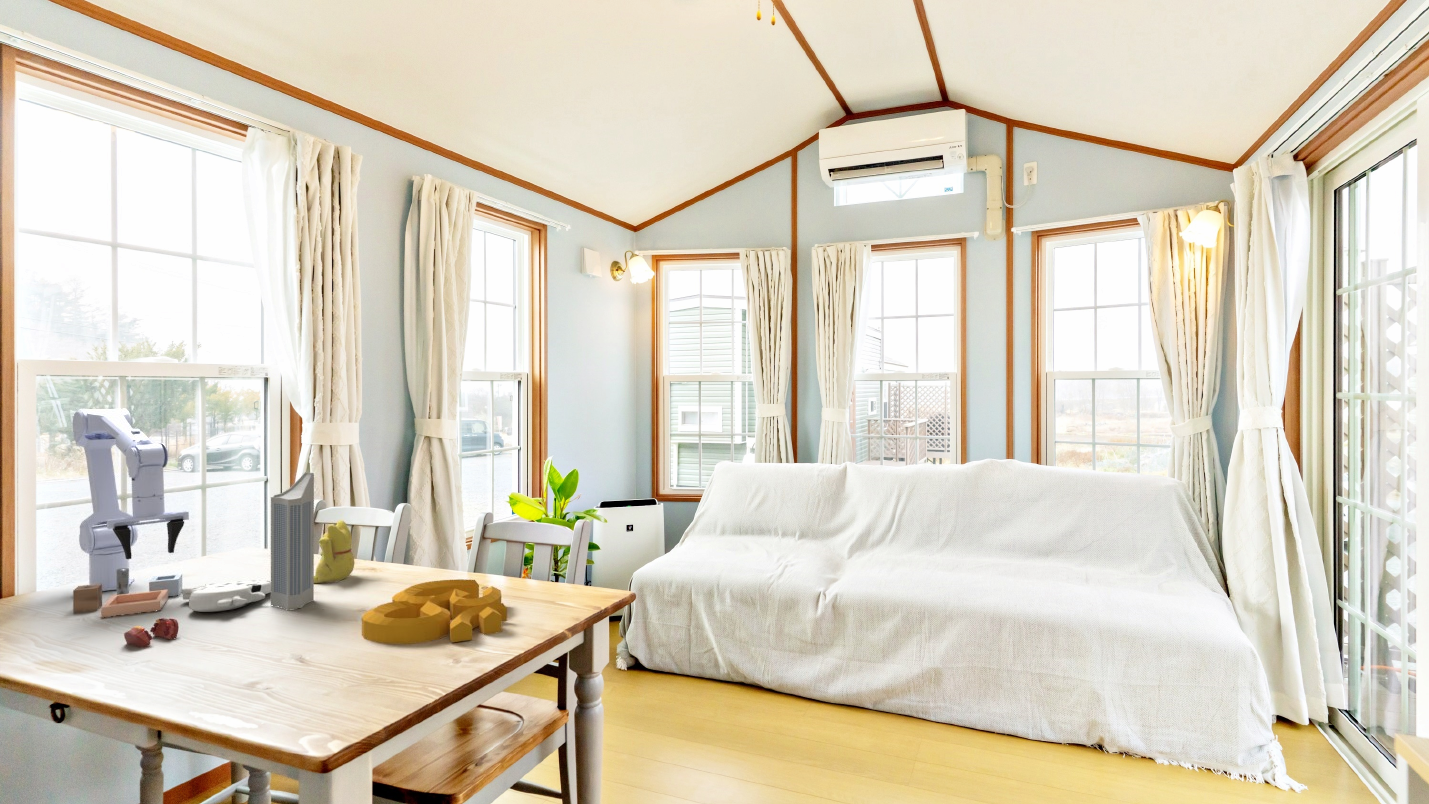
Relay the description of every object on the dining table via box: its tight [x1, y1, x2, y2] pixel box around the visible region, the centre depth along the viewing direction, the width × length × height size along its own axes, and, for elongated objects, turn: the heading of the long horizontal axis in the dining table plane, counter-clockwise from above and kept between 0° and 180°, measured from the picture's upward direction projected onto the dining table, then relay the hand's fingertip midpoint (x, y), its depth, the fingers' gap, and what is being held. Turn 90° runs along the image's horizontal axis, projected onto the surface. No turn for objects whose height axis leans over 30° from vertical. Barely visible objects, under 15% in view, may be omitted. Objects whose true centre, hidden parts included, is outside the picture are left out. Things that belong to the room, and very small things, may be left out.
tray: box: [100, 590, 169, 619], centre depth 155 cm, size 10×10×2 cm
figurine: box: [314, 519, 355, 584], centre depth 179 cm, size 11×9×15 cm
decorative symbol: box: [361, 578, 508, 645], centre depth 150 cm, size 30×5×30 cm
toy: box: [180, 579, 271, 613], centre depth 159 cm, size 22×5×20 cm
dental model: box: [123, 617, 180, 649], centre depth 136 cm, size 6×4×8 cm
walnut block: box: [72, 584, 103, 614], centre depth 154 cm, size 4×4×5 cm
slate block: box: [148, 573, 183, 597], centre depth 166 cm, size 6×6×4 cm
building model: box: [270, 471, 315, 611], centre depth 159 cm, size 8×8×30 cm
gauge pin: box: [115, 567, 130, 595], centre depth 161 cm, size 2×2×7 cm
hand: (150, 555), depth 159 cm, fingers open, 7 cm apart
